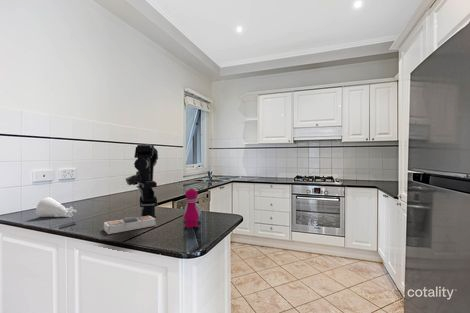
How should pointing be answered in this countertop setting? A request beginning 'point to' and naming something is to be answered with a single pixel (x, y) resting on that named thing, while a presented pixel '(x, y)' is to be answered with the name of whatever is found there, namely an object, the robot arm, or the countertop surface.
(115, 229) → the compartment tray
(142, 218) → the key
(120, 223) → the key
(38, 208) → the rocket engine
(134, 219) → the middle key
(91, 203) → the countertop surface
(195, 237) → the countertop surface
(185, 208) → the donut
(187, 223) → the pepper mill
